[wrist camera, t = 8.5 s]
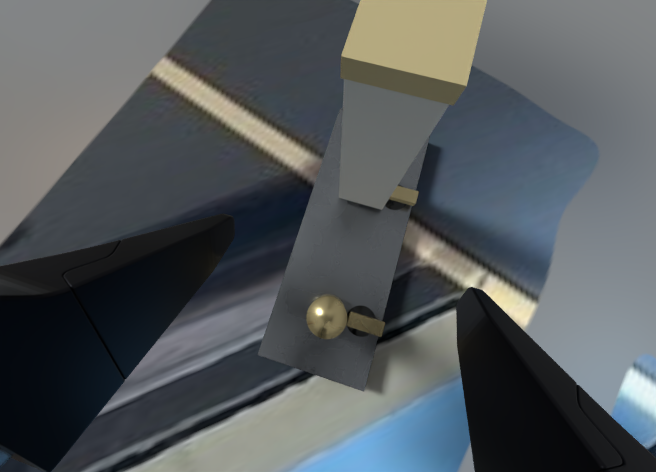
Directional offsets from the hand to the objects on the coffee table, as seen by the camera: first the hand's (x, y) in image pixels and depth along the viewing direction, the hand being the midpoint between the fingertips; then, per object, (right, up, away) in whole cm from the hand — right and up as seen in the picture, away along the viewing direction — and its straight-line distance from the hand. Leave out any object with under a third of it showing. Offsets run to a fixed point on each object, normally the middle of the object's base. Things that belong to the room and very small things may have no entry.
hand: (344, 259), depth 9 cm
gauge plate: (+1, +1, +12) cm, 12 cm away
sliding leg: (+3, +4, +11) cm, 12 cm away
